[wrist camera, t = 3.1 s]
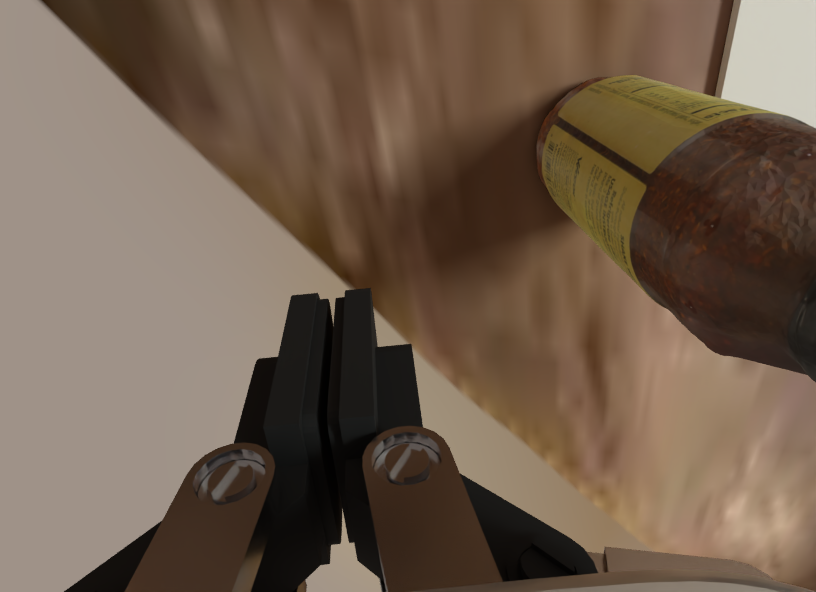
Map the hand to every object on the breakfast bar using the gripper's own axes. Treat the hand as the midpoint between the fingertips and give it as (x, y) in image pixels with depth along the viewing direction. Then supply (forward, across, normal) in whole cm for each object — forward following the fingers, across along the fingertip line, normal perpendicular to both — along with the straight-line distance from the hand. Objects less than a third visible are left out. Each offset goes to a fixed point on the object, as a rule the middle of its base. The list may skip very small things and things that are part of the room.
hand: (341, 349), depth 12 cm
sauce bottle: (+15, -11, 0) cm, 19 cm away
